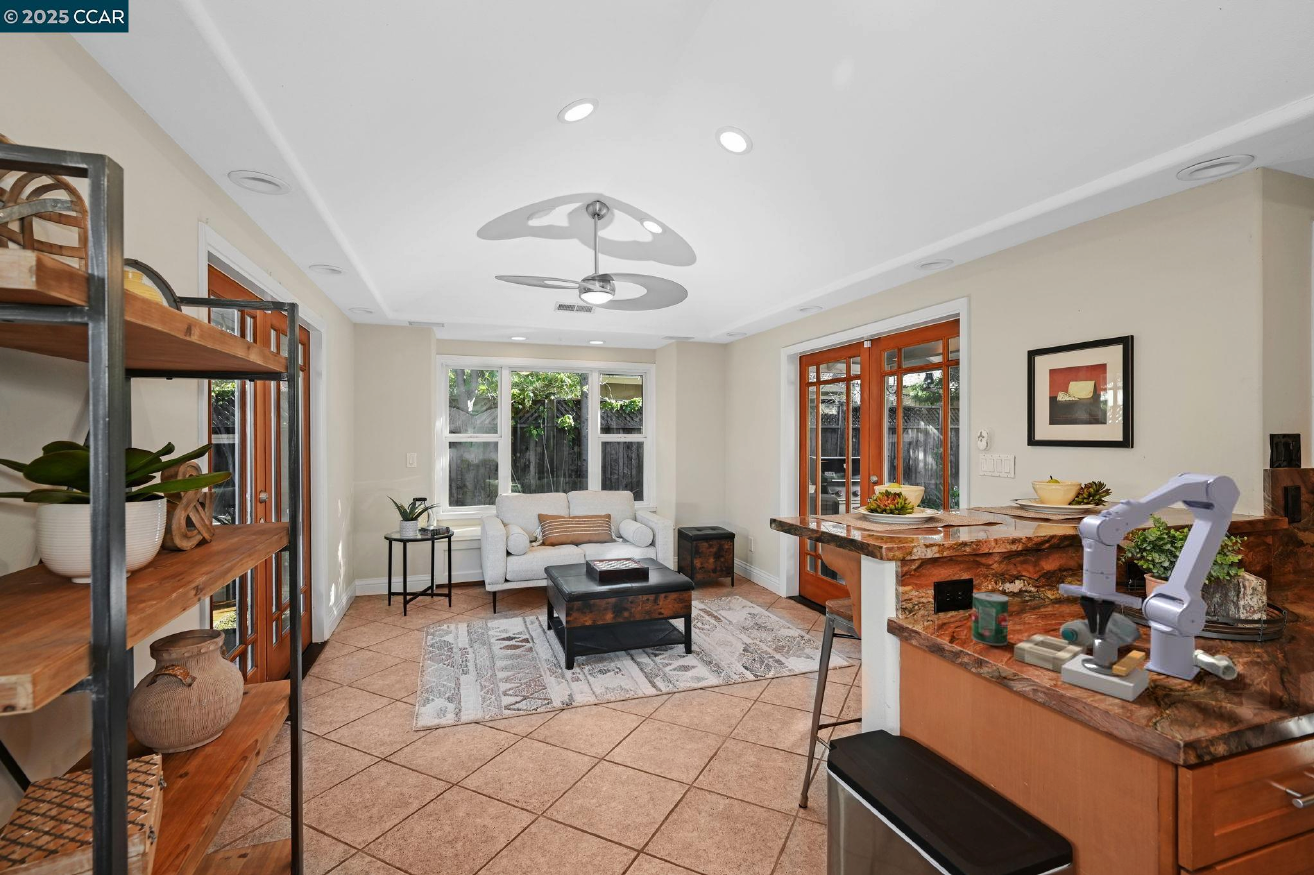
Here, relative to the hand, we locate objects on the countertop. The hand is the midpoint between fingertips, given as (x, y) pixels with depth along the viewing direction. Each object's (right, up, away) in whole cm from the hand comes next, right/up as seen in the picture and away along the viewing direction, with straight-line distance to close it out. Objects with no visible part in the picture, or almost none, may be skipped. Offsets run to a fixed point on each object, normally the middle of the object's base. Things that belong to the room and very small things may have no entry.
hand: (1097, 633), depth 132 cm
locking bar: (+2, -5, -6) cm, 8 cm away
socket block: (-3, -9, -6) cm, 11 cm away
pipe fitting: (+27, -9, +1) cm, 29 cm away
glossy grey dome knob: (-3, -9, -6) cm, 11 cm away
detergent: (+10, -8, +15) cm, 19 cm away
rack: (-6, -8, +7) cm, 12 cm away
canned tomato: (-13, -8, +19) cm, 25 cm away
